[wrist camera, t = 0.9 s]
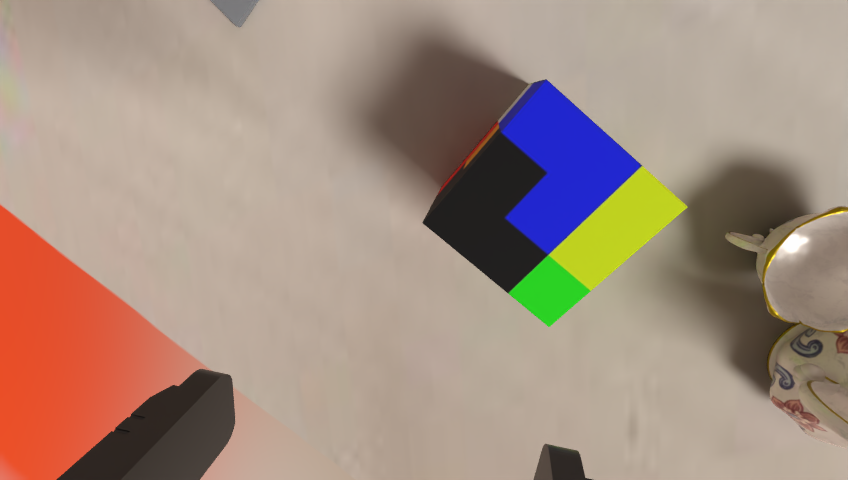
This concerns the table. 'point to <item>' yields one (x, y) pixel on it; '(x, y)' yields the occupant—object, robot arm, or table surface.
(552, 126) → the puzzle toy
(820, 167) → the table surface
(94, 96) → the table surface
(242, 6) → the slate mat
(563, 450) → the robot arm
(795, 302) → the chinaware
